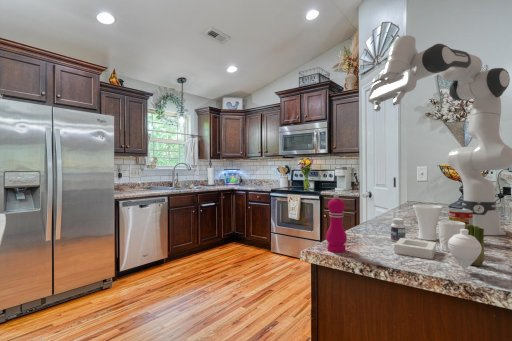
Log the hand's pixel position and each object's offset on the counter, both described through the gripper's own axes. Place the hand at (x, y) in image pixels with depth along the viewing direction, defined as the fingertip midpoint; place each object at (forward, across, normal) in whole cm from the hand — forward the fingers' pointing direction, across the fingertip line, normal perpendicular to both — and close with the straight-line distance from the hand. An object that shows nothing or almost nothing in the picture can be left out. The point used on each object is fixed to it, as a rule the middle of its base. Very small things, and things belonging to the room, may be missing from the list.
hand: (385, 107), depth 106 cm
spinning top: (+50, -25, -21) cm, 59 cm away
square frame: (+47, -6, -24) cm, 53 cm away
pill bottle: (+44, +8, -29) cm, 53 cm away
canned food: (+35, 0, -52) cm, 63 cm away
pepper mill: (+56, +6, -1) cm, 56 cm away
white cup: (+42, -9, -36) cm, 56 cm away
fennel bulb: (+46, -21, -29) cm, 59 cm away
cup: (+39, +6, -42) cm, 58 cm away
